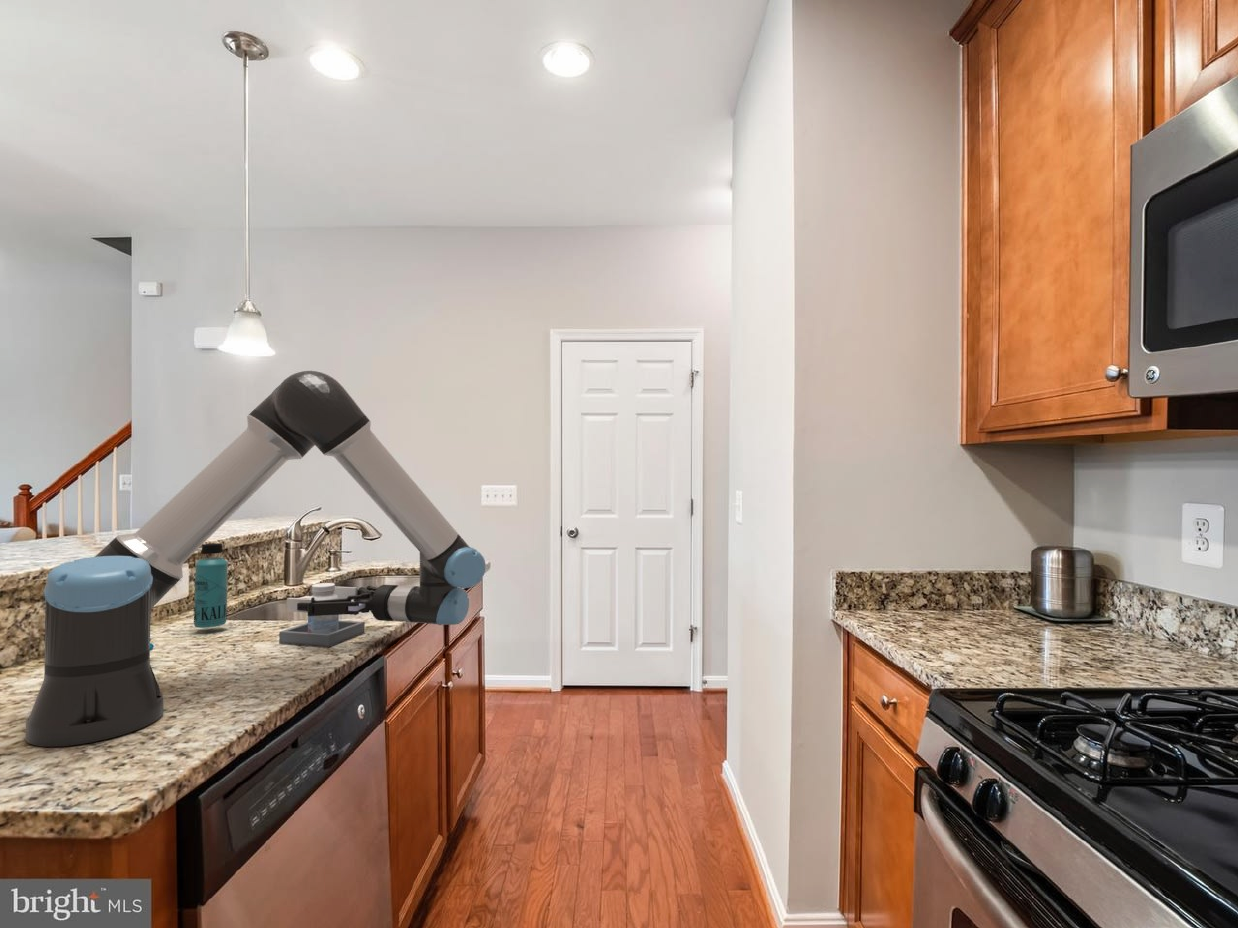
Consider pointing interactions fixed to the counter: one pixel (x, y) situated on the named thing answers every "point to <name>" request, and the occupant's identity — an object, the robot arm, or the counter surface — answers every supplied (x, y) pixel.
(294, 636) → the tray
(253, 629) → the counter surface
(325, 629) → the pill bottle
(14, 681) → the counter surface
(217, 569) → the beverage bottle
